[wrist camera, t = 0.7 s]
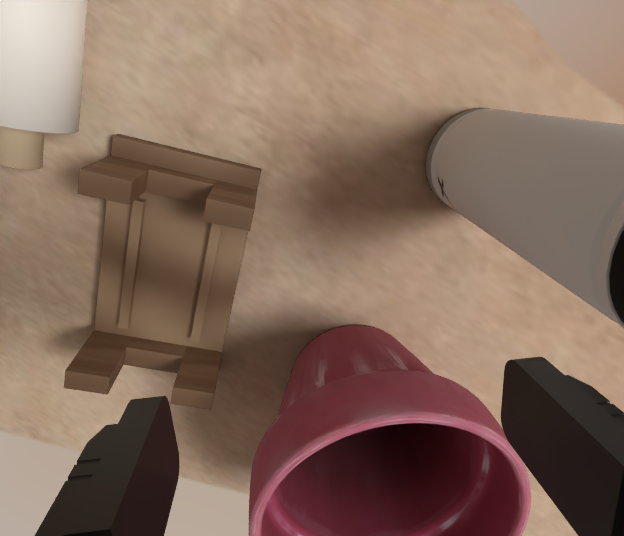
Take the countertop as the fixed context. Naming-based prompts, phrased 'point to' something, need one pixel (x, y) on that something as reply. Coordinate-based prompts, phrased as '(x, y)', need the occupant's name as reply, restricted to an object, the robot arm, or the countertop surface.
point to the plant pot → (382, 450)
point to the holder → (165, 265)
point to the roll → (39, 75)
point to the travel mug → (541, 193)
